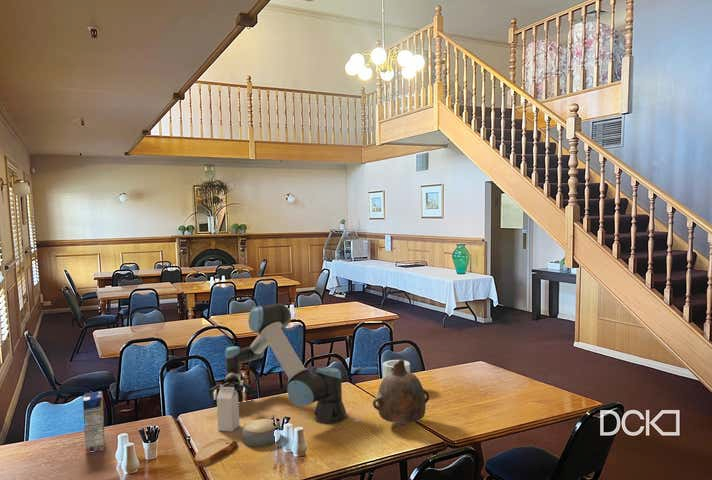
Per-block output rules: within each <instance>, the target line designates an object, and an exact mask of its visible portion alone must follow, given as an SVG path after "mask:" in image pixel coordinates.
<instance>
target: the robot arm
mask: <svg viewBox="0 0 712 480" xmlns="http://www.w3.org/2000/svg"><path fill="white" fill-rule="evenodd" d="M291 320H292V313H291V311H290V308H289V307H287V306H286V305H285V304H283V303H274V304H269V305H263V306H257V307H254V308H252V309H251V310H250V311H249V314H248V327H249V329H250V330H251V331H252V332H253V333H258V335H257V336H256V338H255V339H254V340H253V341H252V343H251V344H250V345H249V346H247V347H243V348H240V347H239V346H236V345H235V346H228V347H227V348H226V349H225V354H224V356H225V357H224V358H225V374H226V375H225V379H224V383H223V384H220V383H217V384H216V385H214V386H212V387H211V388H209V389H208V395H209V396H211V397H212V398H213V401H215V400H217V396H218V393H219V390H220V387H234V390H235V391H236V392H238V391H240V392H242V397H243V398H245V397H246V394H248V392H252V385H251V384H248V383H247V382H246V381H242V382H241V377H242V372H241V364H243V363H247V362H251V361H255V360H259V359H261V358H263V357H264V354H265V350H266V348H268V346H269V347H270V349H271V350H272V352H273V353H274V355H275V357H276V359H277V361H278V362H279V364H280V366H281V368H282V369H283V371H284V373H285V374H286V377H287V378H288V381H287V389H286V391H287V396H288V398H289V399H290V401H291V402H292V404H294V405H295V406H297V407H305V406H309V405H311V404H313V403H316V407H315V410H314V413H313V414H314V415H313V418H314V421H315V422H318V423H322V424H333V423H339V422H342V421H344V420H345V419H346V418H347V411H346V408H345V405H344V402H343V394H342V393H343V391H342V390H343V389H342V387H343V386H342V372H341V371H340V370H339V368H335V367H326V366H324V367H323V366H322V367H318V368H316V370H315V374H313V373H312V372H311V369H309V368H307V367H305V366H304V365H303V363H302V361H301V360H300V358H299V357H298V355H297V353H296V351H295V350H294V348H293V346H292V344H291V343H290V341H289V340H288V338H287V336H286V335H285V333H284V330H285V329H286V328H287V327H288V325H289V324H290V323H291Z"/></svg>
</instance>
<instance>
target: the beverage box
mask: <svg viewBox="0 0 712 480" xmlns="http://www.w3.org/2000/svg"><path fill="white" fill-rule="evenodd" d="M103 398H104V397H103V390H100V391H94V392H87V393H84V394H83V400H82V402H83V407H82V408H83V422H84V442H85V453H86V452H90V451H95V450H100V449H104V446H105V442H106V441H105V440H106V439H105V438H106V437H105V419H104V418H105V417H104V400H103ZM104 450H105V449H104Z"/></svg>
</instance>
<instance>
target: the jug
mask: <svg viewBox="0 0 712 480" xmlns="http://www.w3.org/2000/svg"><path fill="white" fill-rule="evenodd" d="M398 360H399V361H398V362H397V363H395V364H394V367H393V368H392V369H391V373H389V374H387V375H386V376H385V377H384V379H383V378H382V380H381V382H380V385H379V386H378V387H379V388H378V394H377V396H376V397H375V398H374V399H373V400H372V406H373V408H374V409H375V410H377V412H378V414H379V416H380V418H381V419H382V420H385V421H386V422H389V423H394V424H398V425H399V426H405V425H407V424H411V423H414V422H418V421H421V420H422V419H424V417H425V413H426V405H427V403H428V401H429V400H430V395H429V392H428V391H427V390H426V389H424V387H423V385H422V383H421V381H420V379H419V378H418V377H417V376H416V375H415V374H414V373H412V372H411V371H410V372H409V371H406V369H405V365H404V361H405V360H404V359H398ZM425 395H426V397H425Z"/></svg>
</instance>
